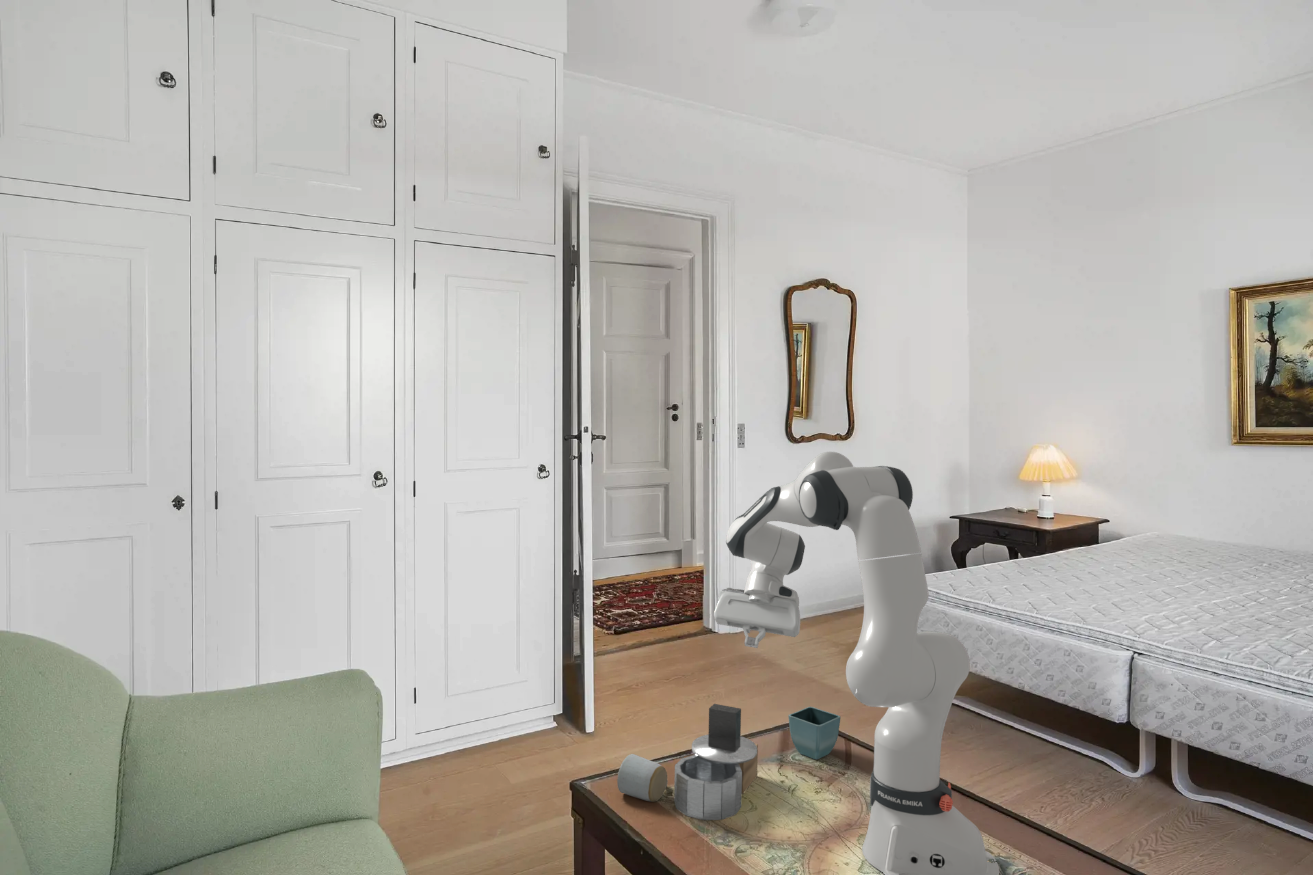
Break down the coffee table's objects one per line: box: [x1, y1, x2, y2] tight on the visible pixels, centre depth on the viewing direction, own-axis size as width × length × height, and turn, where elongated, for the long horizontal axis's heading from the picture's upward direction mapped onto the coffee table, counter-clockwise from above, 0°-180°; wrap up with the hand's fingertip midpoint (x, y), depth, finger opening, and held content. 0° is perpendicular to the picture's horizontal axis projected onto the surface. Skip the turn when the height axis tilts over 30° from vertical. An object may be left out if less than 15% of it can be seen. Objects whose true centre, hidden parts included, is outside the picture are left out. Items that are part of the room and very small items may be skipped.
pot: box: [673, 754, 743, 821], centre depth 156 cm, size 13×13×7 cm
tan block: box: [739, 743, 759, 795], centre depth 166 cm, size 10×9×7 cm
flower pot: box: [788, 706, 841, 760], centre depth 180 cm, size 9×9×9 cm
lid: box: [691, 703, 757, 764], centre depth 164 cm, size 14×14×9 cm
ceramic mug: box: [616, 753, 669, 803], centre depth 159 cm, size 11×8×8 cm
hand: (750, 646), depth 180 cm, fingers closed
